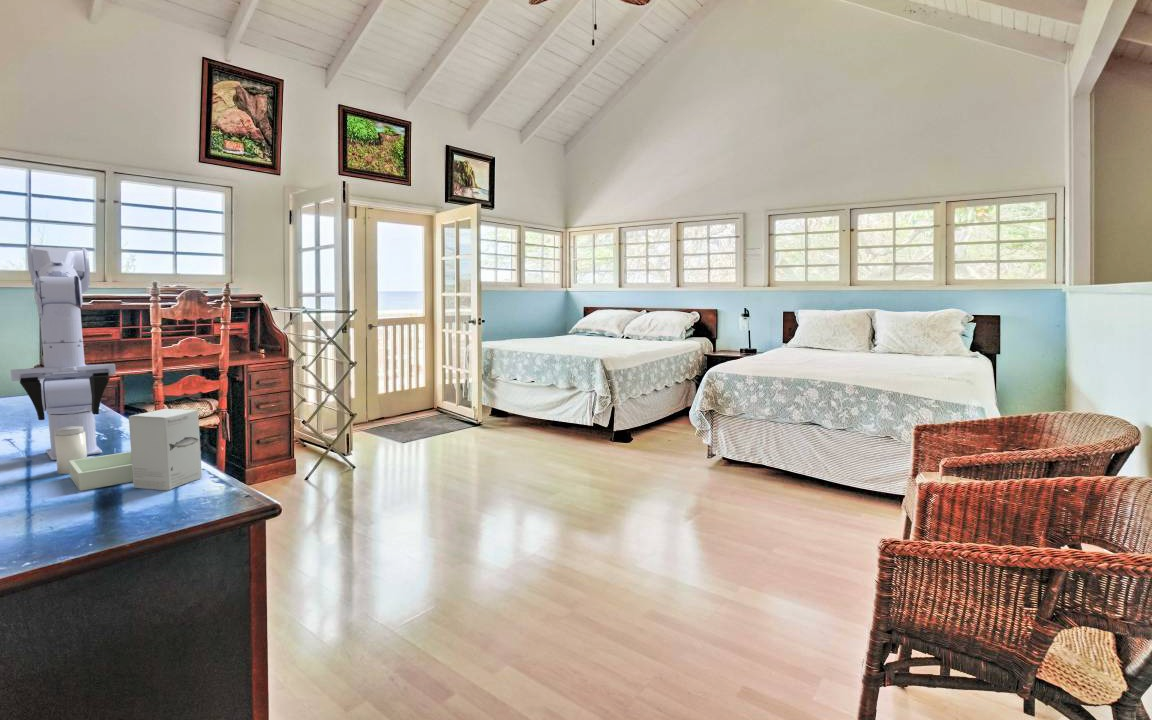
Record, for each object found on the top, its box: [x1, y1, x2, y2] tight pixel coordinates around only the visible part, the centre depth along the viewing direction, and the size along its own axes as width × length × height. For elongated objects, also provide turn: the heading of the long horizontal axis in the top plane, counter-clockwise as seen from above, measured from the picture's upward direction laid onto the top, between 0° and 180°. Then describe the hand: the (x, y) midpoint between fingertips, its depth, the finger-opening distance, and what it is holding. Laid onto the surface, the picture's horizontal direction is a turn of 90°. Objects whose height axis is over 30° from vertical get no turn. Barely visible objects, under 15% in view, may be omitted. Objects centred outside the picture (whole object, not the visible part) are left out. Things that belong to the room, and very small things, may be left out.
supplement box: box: [128, 408, 203, 491], centre depth 106 cm, size 7×7×13 cm
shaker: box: [54, 426, 88, 475], centre depth 113 cm, size 4×4×8 cm
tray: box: [69, 451, 133, 492], centre depth 110 cm, size 11×11×3 cm
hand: (69, 416), depth 112 cm, fingers open, 7 cm apart
